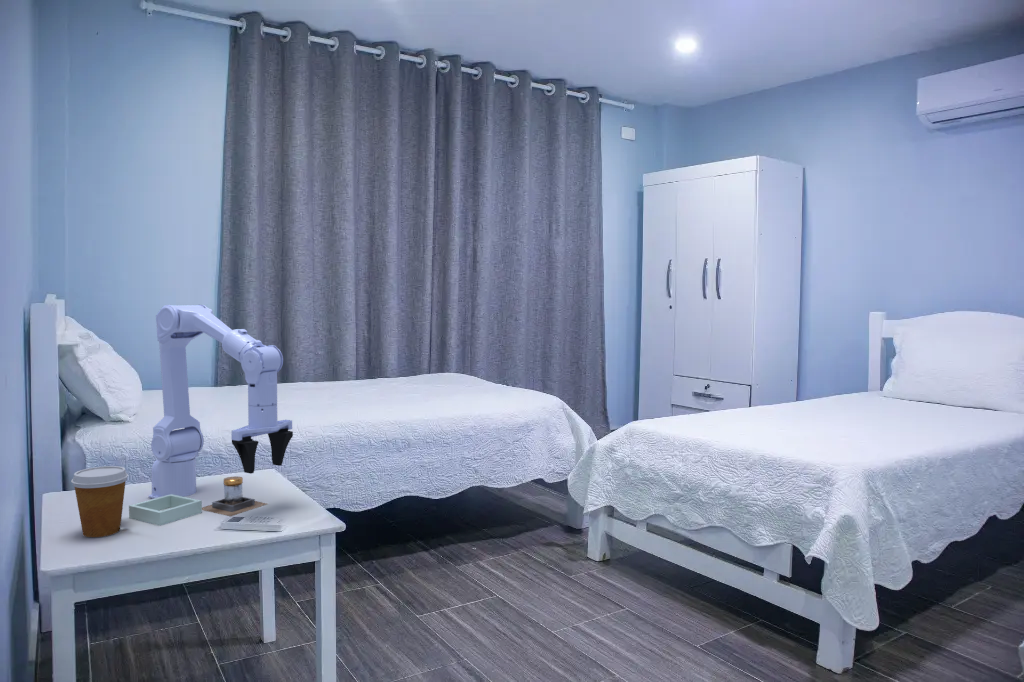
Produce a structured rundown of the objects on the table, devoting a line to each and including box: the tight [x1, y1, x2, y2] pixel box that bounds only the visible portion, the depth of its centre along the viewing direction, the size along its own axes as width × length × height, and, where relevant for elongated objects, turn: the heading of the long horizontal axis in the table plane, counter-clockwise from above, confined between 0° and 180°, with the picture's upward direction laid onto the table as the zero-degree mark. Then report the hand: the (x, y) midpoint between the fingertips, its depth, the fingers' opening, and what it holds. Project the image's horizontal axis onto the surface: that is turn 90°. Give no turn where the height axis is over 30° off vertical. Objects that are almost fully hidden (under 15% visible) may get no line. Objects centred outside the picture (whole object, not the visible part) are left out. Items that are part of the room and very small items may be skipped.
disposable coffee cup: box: [71, 465, 129, 538], centre depth 137 cm, size 10×10×12 cm
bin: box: [128, 494, 203, 527], centre depth 146 cm, size 10×10×4 cm
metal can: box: [223, 475, 244, 505], centre depth 152 cm, size 4×4×6 cm
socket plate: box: [202, 496, 268, 517], centre depth 152 cm, size 10×10×2 cm
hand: (263, 468), depth 148 cm, fingers open, 7 cm apart
